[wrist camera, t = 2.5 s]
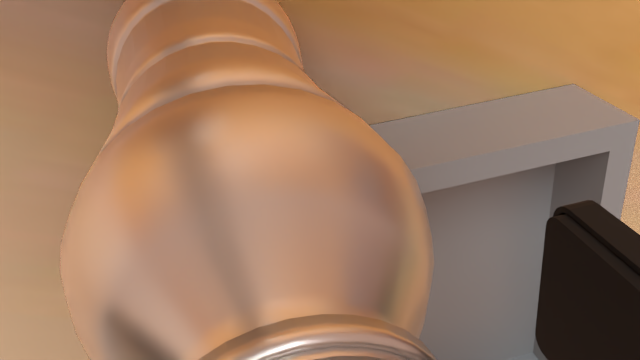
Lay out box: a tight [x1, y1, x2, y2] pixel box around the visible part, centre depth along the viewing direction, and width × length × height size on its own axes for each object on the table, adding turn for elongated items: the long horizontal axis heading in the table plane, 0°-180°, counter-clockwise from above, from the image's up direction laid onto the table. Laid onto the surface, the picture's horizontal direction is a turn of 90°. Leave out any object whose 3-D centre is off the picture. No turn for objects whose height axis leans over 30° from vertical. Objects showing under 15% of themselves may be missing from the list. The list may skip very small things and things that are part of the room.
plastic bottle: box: [60, 0, 436, 360], centre depth 15 cm, size 6×7×20 cm
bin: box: [369, 84, 639, 360], centre depth 30 cm, size 18×18×4 cm
